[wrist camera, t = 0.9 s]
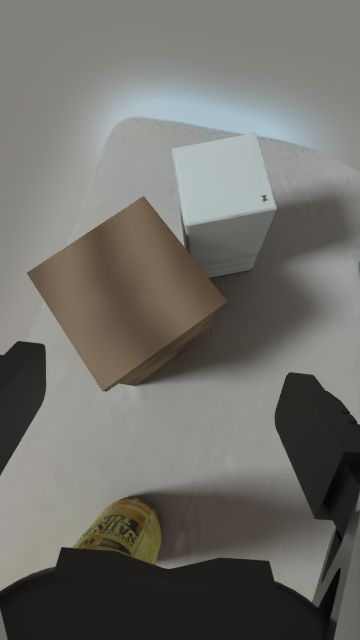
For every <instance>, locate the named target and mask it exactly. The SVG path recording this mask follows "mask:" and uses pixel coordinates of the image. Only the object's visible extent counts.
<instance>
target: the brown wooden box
mask: <svg viewBox="0 0 360 640" xmlns="http://www.w3.org/2000/svg"><path fill="white" fill-rule="evenodd" d="M27 274H28V275H29V277H30V279H31V280H32V282H33V283H34V285H35V287H36V288H37V290H38V291H39V293H40V294H41V296H42V297H43V299H44V301H45V302H46V304H47V305H48V307H49V308H50V310H51V312H52V313H53V315H54V316H55V318H56V319H57V321H58V322H59V324H60V326H61V327H62V329H63V330H64V332H65V333H66V335H67V337H68V338H69V340H70V341H71V343H72V344H73V346H74V347H75V349H76V351H77V352H78V354H79V355H80V357H81V358H82V360H83V362H84V363H85V365H86V366H87V368H88V369H89V371H90V372H91V374H92V376H93V377H94V379H95V380H96V382H97V383H98V385H99V387H100V388H101V390H102V391H108V390H110V389H111V388H112V387H114V386H115V385H117V384H118V383H119V384H126V385H132V386H136V385H138V384H139V383H140V382H142V381H143V380H144V379H146V378H147V377H149V376H150V375H151V374H153V373H154V372H156V371H157V370H158V369H160V368H161V367H162V366H164V365H165V364H167V363H168V362H169V361H171V360H172V359H174V358H175V357H176V356H178V355H179V354H180V353H182V352H183V351H185V350H186V349H187V348H189V347H190V346H192V345H193V344H194V343H196V342H197V341H198V340H200V339H201V338H203V337H204V336H205V335H207V334H208V333H210V332H211V329H212V324H213V320H214V315H215V314H216V313H217V312H218V311H220V310H221V309H223V308H224V307H225V306H226V305H227V301H226V299H225V298H224V297H223V296H222V294H221V293H220V292H219V290H218V289H217V288H216V287H215V285H214V284H213V283H212V282H211V280H210V279H209V278H208V277H207V275H206V274H205V273H204V272H203V270H202V269H201V268H200V267H199V265H198V264H197V263H196V261H195V260H194V259H193V258H192V256H191V255H190V254H189V253H188V251H187V250H186V249H185V248H184V246H183V245H182V244H181V243H180V241H179V240H178V239H177V237H176V236H175V235H174V234H173V232H172V231H171V230H170V229H169V227H168V226H167V225H166V224H165V222H164V221H163V220H162V219H161V217H160V216H159V215H158V213H157V212H156V211H155V210H154V208H153V207H152V206H151V205H150V203H149V202H148V201H147V200H146V198H145V197H144V196H143V197H142V198H140V199H139V200H137V201H136V202H134V203H132V204H131V205H129V206H128V207H126V208H125V209H123V210H122V211H120V212H119V213H117V214H116V215H114V216H113V217H111V218H110V219H108V220H107V221H105V222H104V223H102V224H101V225H99V226H98V227H96V228H94V229H93V230H91V231H90V232H88V233H87V234H85V235H84V236H82V237H81V238H79V239H78V240H76V241H75V242H73V243H72V244H70V245H69V246H67V247H66V248H64V249H63V250H61V251H60V252H58V253H57V254H55V255H53V256H52V257H50V258H49V259H47V260H46V261H44V262H43V263H41V264H40V265H38V266H37V267H35V268H34V269H32V270H31V271H29V272H28V273H27Z"/></svg>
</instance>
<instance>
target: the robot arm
mask: <svg viewBox="0 0 360 640" xmlns="http://www.w3.org/2000/svg"><path fill="white" fill-rule="evenodd" d="M359 272H360V263H359ZM45 391H46V350H45V346H44V344H40V343H31V342H22V341H18V342H16V343H15V344H14V345H13V346H12V347H11V348H10V349H9V351H8V352H7V353H6V354H5V355H0V475H1V473H2V471H3V470H4V468H5V466H6V465H7V463H8V461H9V459H10V458H11V456H12V454H13V453H14V451H15V449H16V448H17V446H18V444H19V442H20V441H21V439H22V437H23V436H24V434H25V432H26V431H27V429H28V427H29V425H30V424H31V422H32V420H33V419H34V417H35V415H36V413H37V412H38V410H39V408H40V407H41V405H42V403H43V400H44V396H45ZM275 426H276V429H277V432H278V434H279V436H280V439H281V441H282V443H283V446H284V448H285V450H286V453H287V455H288V457H289V460H290V462H291V464H292V467H293V469H294V471H295V474H296V476H297V478H298V480H299V483H300V485H301V487H302V490H303V492H304V494H305V497H306V499H307V501H308V504H309V506H310V508H311V511H312V513H313V515H314V518H315V519H322V520H333V522H334V524H335V526H336V527H335V530H334V532H333V534H332V536H331V540H330V543H329V546H328V550H327V553H326V557H325V560H324V564H323V567H322V571H321V574H320V578H319V581H318V585H317V588H316V591H315V595H314V598H313V600H312V602H310V601H309V600H308V599H307V598H305V597H304V596H302V595H301V594H299V593H298V592H296V591H294V590H293V589H291V588H289V587H287V586H285V585H283V584H281V583H279V582H276V581H274V578H273V574H272V570H271V566H270V563H269V561H263V560H248V559H232V558H216V559H212V560H208V561H203V562H199V563H195V564H190V565H186V566H182V567H177V568H173V569H165V568H161V567H159V566H156V565H153V564H150V563H147V562H145V561H142V560H139V559H136V558H133V557H131V556H128V555H125V554H122V553H119V552H117V551H111V550H95V549H80V548H65V547H61V551H60V554H59V557H58V561H57V564H56V567H52V568H47V569H44V570H41V571H38V572H35V573H33V574H30V575H28V576H26V577H24V578H22V579H20V580H18V581H16V582H14V583H13V584H11V585H9V586H8V587H6V588H4V589H3V590H1V591H0V640H360V425H359V424H357V421H356V420H355V418H354V417H353V416H352V415H350V412H349V411H348V409H347V408H346V407H345V406H344V404H343V403H342V402H341V401H340V400H339V399H337V398H336V397H335V396H333V395H332V394H331V393H329V392H328V391H325V390H324V388H323V387H322V386H321V384H320V383H319V382H318V380H317V379H316V378H315V376H313V375H310V374H301V373H292V372H290V373H288V375H287V376H286V378H285V381H284V385H283V388H282V391H281V394H280V398H279V401H278V404H277V407H276V411H275Z"/></svg>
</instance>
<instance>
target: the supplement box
mask: <svg viewBox="0 0 360 640" xmlns="http://www.w3.org/2000/svg"><path fill="white" fill-rule="evenodd" d="M172 159H173V167H174V176H175V184H176V192H177V203H178V214H179V224H180V229H181V234H182V240H183V245H184V248H185V249H186V250H187V251H188V253H189V254H190V255H191V256H192V258H193V259H194V260H195V261H196V263H197V264H198V265H199V267H200V268H201V269H202V270H203V272H204V273H205V274H206V275H207V277H208V278H210V277H216V276H221V275H226V274H231V273H237V272H242V271H247V270H252V268H253V266H254V263H255V261H256V258H257V256H258V254H259V251H260V249H261V247H262V244H263V242H264V239H265V237H266V235H267V232H268V230H269V228H270V225H271V223H272V220H273V218H274V216H275V213H276V211H277V209H278V207H277V204H276V201H275V198H274V195H273V191H272V188H271V185H270V181H269V178H268V174H267V171H266V167H265V163H264V160H263V156H262V153H261V149H260V146H259V142H258V138H257V135H256V133H250V134H246V135H241V136H236V137H231V138H225V139H220V140H215V141H210V142H204V143H199V144H194V145H188V146H183V147H178V148H173V149H172Z"/></svg>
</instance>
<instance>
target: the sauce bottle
mask: <svg viewBox="0 0 360 640" xmlns="http://www.w3.org/2000/svg"><path fill="white" fill-rule="evenodd" d="M161 534H162V525H161V520H160V517H159V515H158V513H157V511H156V510H155V508H154V507H153V506H152V505H151V504H150V503H149V502H147V501H145V500H143V499H139V498H134V497H129V498H123V499H120V500H119V501H117V502H115V503H113V504H111V505H110V506H108V507H107V508H106V509H105V510H104V512H103V513H102V514H101V515H100V516H99V517H98V519H97V520H96V521H95V522H94V523H93V524H92V525H91V527H90V528H89V529H88V530H87V531H86V532H85V533H84V534H83V535H82V537H81V538H80V539H79V540H78V542H77V543H76V544H75V545H74V546H73V547H72V548H80V549H95V550H111V551H117V552H119V553H122V554H125V555H128V556H131V557H133V558H136V559H139V560H142V561H145V562H147V563H150V564H153V565H155V563H156V560H157V557H158V553H159V550H160V546H161Z"/></svg>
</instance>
